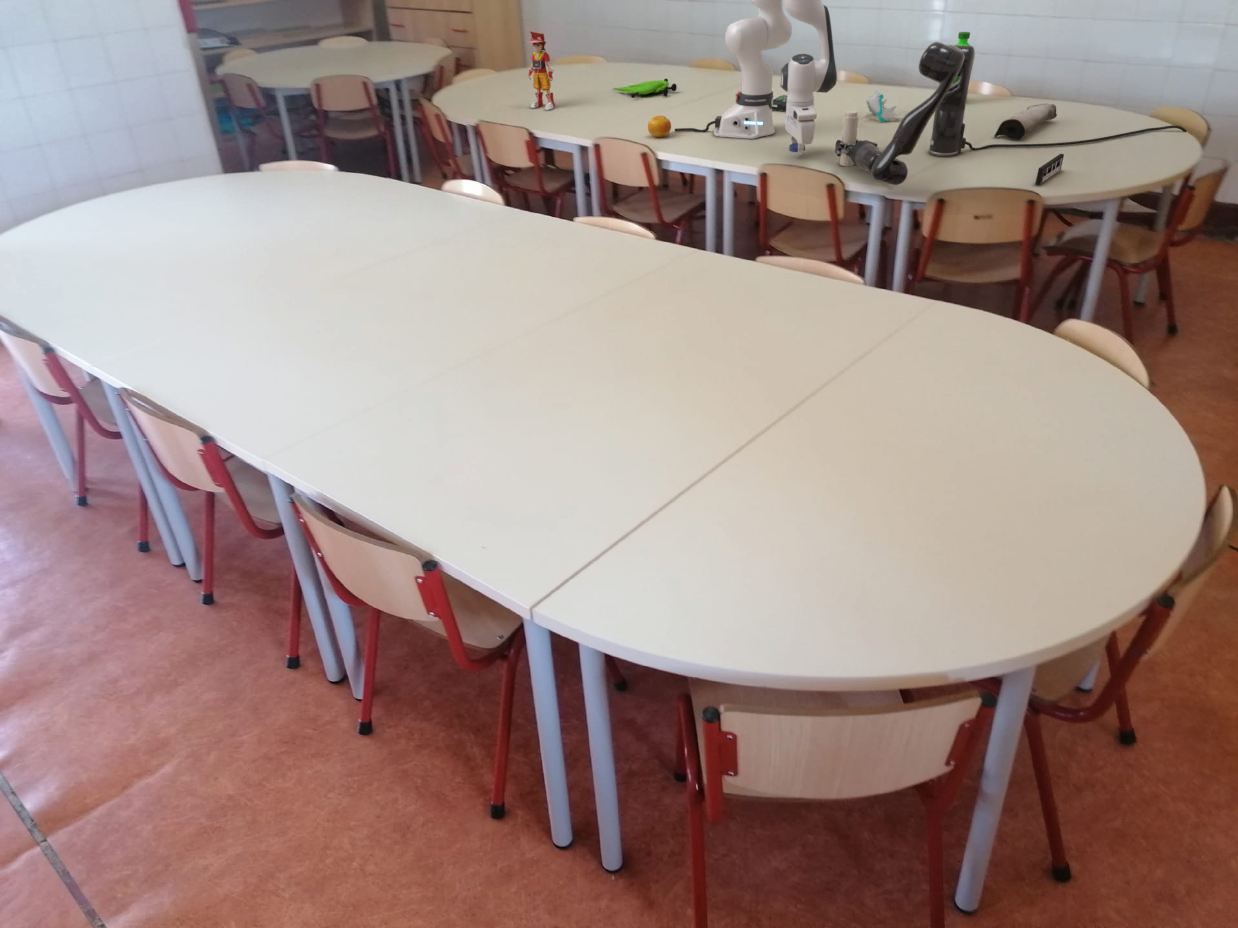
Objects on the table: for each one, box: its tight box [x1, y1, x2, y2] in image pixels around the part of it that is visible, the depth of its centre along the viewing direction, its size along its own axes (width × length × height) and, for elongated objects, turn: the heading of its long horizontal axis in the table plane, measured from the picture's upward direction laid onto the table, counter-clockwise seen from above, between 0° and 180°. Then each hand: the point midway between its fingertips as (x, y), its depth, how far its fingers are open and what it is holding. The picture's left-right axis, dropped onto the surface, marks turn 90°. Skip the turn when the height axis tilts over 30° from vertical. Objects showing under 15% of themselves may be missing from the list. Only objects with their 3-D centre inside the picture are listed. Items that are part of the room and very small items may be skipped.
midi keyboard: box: [1035, 153, 1065, 186], centre depth 273 cm, size 18×1×5 cm, turn 138°
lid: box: [788, 142, 806, 153], centre depth 304 cm, size 5×5×2 cm
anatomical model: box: [865, 90, 901, 123], centre depth 339 cm, size 15×10×10 cm
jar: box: [839, 109, 860, 167], centre depth 292 cm, size 5×5×17 cm
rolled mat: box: [993, 103, 1058, 141], centre depth 317 cm, size 30×9×10 cm
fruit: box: [647, 115, 672, 138], centre depth 334 cm, size 8×8×8 cm
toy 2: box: [612, 78, 677, 99], centre depth 396 cm, size 28×5×30 cm
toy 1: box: [527, 31, 556, 111], centre depth 374 cm, size 12×9×30 cm
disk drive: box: [772, 94, 788, 112], centre depth 362 cm, size 10×3×15 cm
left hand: (797, 151), depth 304 cm, fingers closed on lid, 5 cm apart
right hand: (845, 142), depth 295 cm, fingers closed on jar, 4 cm apart
